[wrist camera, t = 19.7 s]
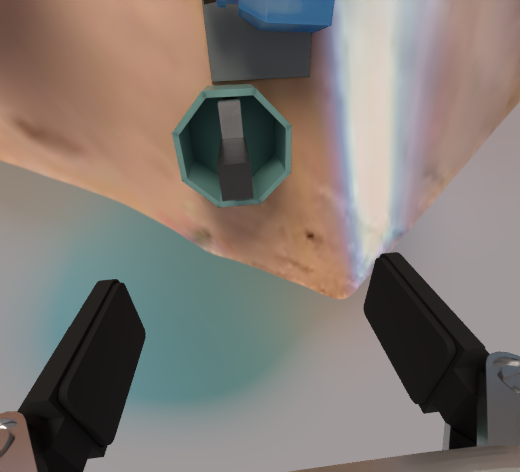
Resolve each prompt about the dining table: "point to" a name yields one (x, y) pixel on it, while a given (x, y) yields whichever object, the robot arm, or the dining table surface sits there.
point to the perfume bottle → (283, 14)
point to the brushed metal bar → (233, 153)
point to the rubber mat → (252, 48)
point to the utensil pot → (254, 130)
